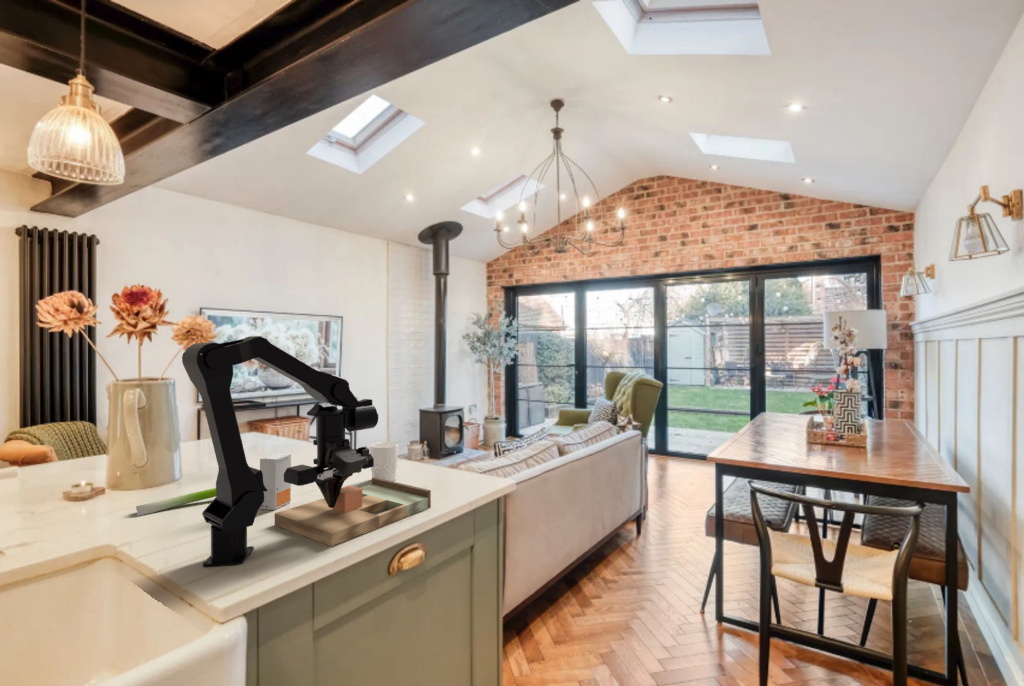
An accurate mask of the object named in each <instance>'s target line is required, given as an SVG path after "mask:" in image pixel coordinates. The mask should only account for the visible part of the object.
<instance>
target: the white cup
mask: <svg viewBox="0 0 1024 686" xmlns="http://www.w3.org/2000/svg"><path fill="white" fill-rule="evenodd" d="M369 453H370V454H371V455H372V457H373V458H374V467H370V471H371V479H372V478H374V477H375V478H380V479H384V480H388V481H393V482H395V481H396V480H397V476H398V475H397V473H398V472H397V470H398V461H399V460H398V459H399V443H397V442H394V441H383V442H382V441H381V442H375V443H371V444H369Z"/></svg>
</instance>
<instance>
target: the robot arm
mask: <svg viewBox="0 0 1024 686" xmlns="http://www.w3.org/2000/svg"><path fill="white" fill-rule="evenodd" d="M251 360H255V361H257V362H258V363H261V364H262V365H264V366H266V367H268V368H270V369H272V370H273V371H274V372H277V373H278V374H280V375H282V376H284V377H286V378H288V379H289V380H290V381H293V382H295V383H296V384H298V385H299V386H301V388H302V389H303V390H304V391H305V392H306V394H308V395H309V396H310V397H311V398H312V399H314V400H315V401H316V402H319V404H318V403H315V404H314V405H313V407H312V408H311V409H309V410H308V411H307V412H306V415H307V416H309V417H316V439H313V442H312V443H313V446H316V458H313V459H312V460H313V465H315V466H310V465H306V464H299V465H294V466H293V465H292V466H291V467H289V468H287V469H286V471H285V472H284V482H287V483H290V484H291V485H294V486H299V487H300V486H301V487H302V486H306V485H309V484H313V483H315V484H316V485H317V488H318V489H319V490H320V492H321V495H322V496H323V499H325V501H326V503H327V505H328V507H330V508H333V507H335V504H336V501H337V498H338V496H339V493H340V490H341V488H343V485H344V483H345V481H346V480H348V478H349V477H352V476H353V474H356V473H357V474H359V473H361V472H362V469H363V470H366V469H371V467H374V458H373V457H372V455H371V454H370V447H369V448H368V447H367V446H360V447H358V448H351V442H350V439H349V438H346V431H347V432H356V431H363V430H368V429H374V428H375V427H376V426H377V425H378V423H379V413H378V410H377V408H376V407H375V405H374V404H373V399H370V398H369V399H368V398H363V399H361V400H358V398H356V397H355V395H354V393H353V392H352V391H351V389H350V383H349V380H348V381H347V379H346V378H343V377H341V376H339V375H335V374H333V373H329V372H327V371H326V372H325V371H322V370H320V369H319V370H318V369H317V368H314V367H313V366H311V365H309V364H308V363H306V362H304V361H303V360H301V359H299V358H297V357H296V356H294V355H293V354H291V353H290V352H288V351H285V349H282V348H281V347H279V346H277V345H276V344H274V343H272V342H271V341H269V340H268V338H266V337H264V336H261V335H259V336H258V335H252V336H251V335H249V336H246V337H245V338H241V339H238V340H237V339H235V340H232V341H226V342H221V343H219V342H196V343H193V344H191V345H190V346H188V347H186V349H185V350H184V352H183V353H182V356H181V362H182V365H183V367H184V369H185V372H186V374H187V376H188V378H189V380H190V382H191V383H192V385H193V386H194V387H195V388H196V390H197V393H199V395H200V397H201V401H202V402H201V403H202V404H203V405H202V406H203V409H204V413H205V418H206V421H207V425H208V430H209V433H210V437H211V442H212V445H213V450H214V454H215V459H216V461H217V462H216V463H217V467H218V471H217V476H216V482H215V488H216V497H214V499H213V500H212V501H211V502H210V503H209V504H208V505H207V507H206V508H205V509H204V510H203V511H202V514H201V515H202V517H203V518H204V521H205V523H207V524H210V525H211V526H210V556H208V557H207V559H206V560H205V561H203V563H202V567H215V566H228V565H237V564H238V565H240V564H243V563H244V562H245V560H247V558H248V557H249V556H250V555H251V553H252V552H253V551H254V549H255V547H254V546H252V545H251V546H248V527H251V526H253V525H254V522H255V520H256V518H257V517H256V516H257V514H258V511H259V510H260V507H261V505H262V503H263V502H264V492H263V491H265V492H266V491H267V489H266V488H265V486H264V483H263V474H262V471H261V470H260V469H258V468H254V467H251V466H249V464H248V462H247V457H246V454H245V449H244V445H243V440H242V436H241V431H240V428H239V423H238V419H237V415H236V410H235V405H234V402H233V398H232V393H231V387H232V383H233V378H234V366H236V365H240V364H243V363H244V364H245V363H246V362H249V361H251ZM320 403H325V404H328V405H329V406H323V405H322V404H320ZM338 407H342V408H339V409H338Z"/></svg>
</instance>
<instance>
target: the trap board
mask: <svg viewBox="0 0 1024 686" xmlns="http://www.w3.org/2000/svg"><path fill="white" fill-rule="evenodd" d="M359 488H361V489H362V507H360V508H357V509H354V510H351V511H348V512H342V511H339V510H336V509H333V508H330V507H328V505H327V503H326V501H325V499H324V498H320V499H317V500H314V501H311V502H307V503H305V504H302V505H298V506H294V507H290V508H287V509H285V510H284V509H283V510H281V511H278V512H274V526H276V527H279V528H283V530H284V529H285V530H286V531H287V530H288V531H290V532H293V533H295V534H297V535H299V536H300V535H301V536H303V537H305V536H306V537H305V538H308V537H309V539H311V538H312V539H311V540H313V539H315V540H314V541H316V540H318V541H317V542H319V541H320V542H319V543H321V542H323V543H322V544H324V543H326V544H329V545H331V546H330V547H334V546H336V545H335V544H337V545H339V544H338V543H340V544H342V543H344V541H345V542H347V541H349V539H350V540H352V539H354V537H355V538H357V537H359V535H360V536H362V535H364V533H365V534H366V533H369V531H370V532H373V531H374V530H377V529H379V528H382V527H384V526H386V525H390V524H392V523H394V522H397V521H399V520H401V519H405V518H407V517H409V515H410V516H412V515H414V513H415V514H417V513H419V511H420V512H422V511H424V510H427V509H430V508H431V506H432V500H431V496H432V495H431V494H432V492H431V491H432V490H431V489H426V488H423V487H419V486H414V485H410V484H405V483H402V482H397V481H388V480H384V479H380V478H375V477H374V478H372V477H371V484H367V485H364V486H359ZM411 514H412V515H411ZM404 517H405V518H404ZM361 534H362V535H361ZM356 536H357V537H356ZM351 538H352V539H351ZM341 542H342V543H341ZM326 544H325V545H326ZM329 545H328V546H329ZM333 545H334V546H333Z"/></svg>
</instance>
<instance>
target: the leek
mask: <svg viewBox="0 0 1024 686" xmlns="http://www.w3.org/2000/svg"><path fill="white" fill-rule="evenodd" d="M212 498H216V487H213V488H209V489H206V490H201V491H196V492H191V493H187V494H184V495H183V494H182V495H179V496H175V497H170V498H166V499H162V500H157V501H151V502H148V503H144V504H140V505H136V507H135V509H136V517H137V516H138V517H140V516H139V515H143V516H145V515H144V514H147V515H150V514H149V513H152V514H155V513H154V512H156V513H159V512H161V511H164V510H168V509H172V508H176V507H179V506H183V505H187V504H190V503H194V502H199V501H203V500H207V499H212ZM158 511H159V512H158Z"/></svg>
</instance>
